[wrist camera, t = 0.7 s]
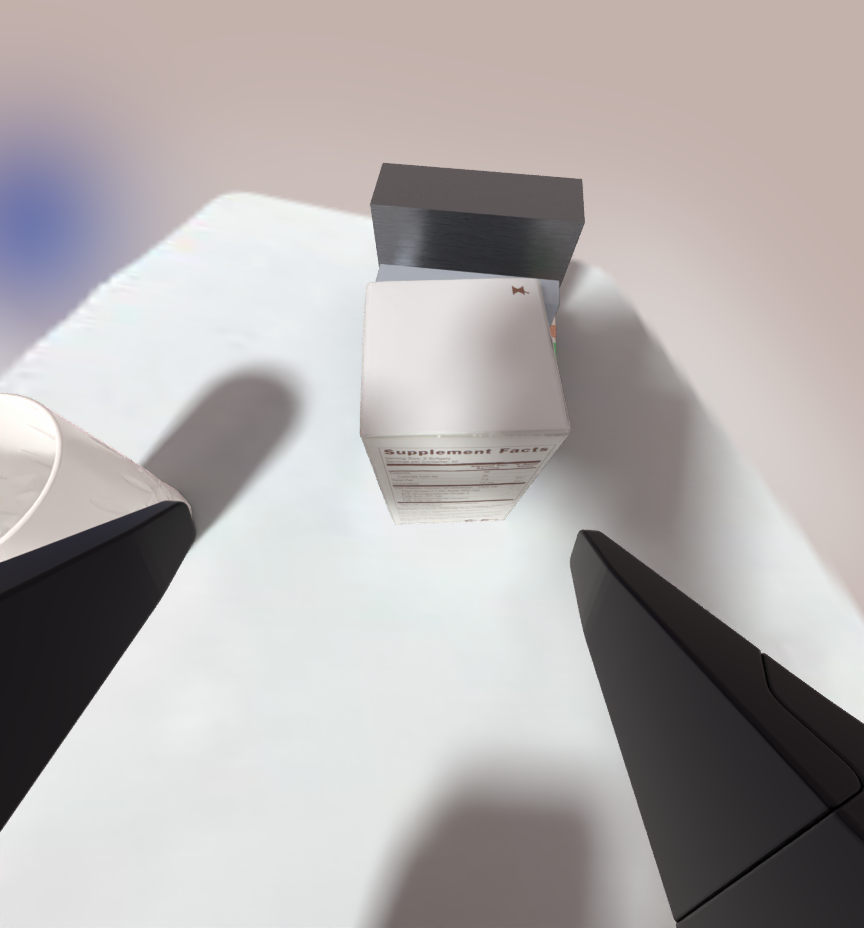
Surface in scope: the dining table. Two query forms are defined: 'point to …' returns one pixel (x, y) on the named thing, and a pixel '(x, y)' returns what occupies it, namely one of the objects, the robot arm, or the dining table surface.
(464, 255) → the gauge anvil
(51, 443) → the white cup
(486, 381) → the supplement box
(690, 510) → the dining table surface
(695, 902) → the robot arm
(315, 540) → the dining table surface
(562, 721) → the dining table surface
